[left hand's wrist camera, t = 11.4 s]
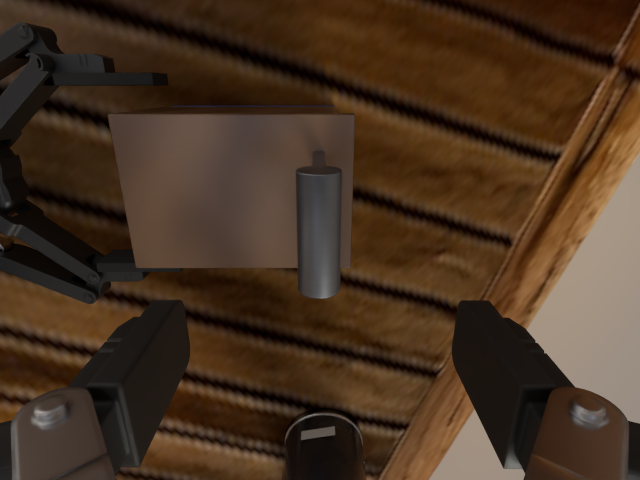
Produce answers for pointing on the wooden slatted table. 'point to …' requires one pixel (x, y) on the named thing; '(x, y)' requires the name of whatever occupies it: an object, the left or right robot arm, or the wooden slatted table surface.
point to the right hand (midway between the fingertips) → (174, 177)
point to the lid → (239, 191)
